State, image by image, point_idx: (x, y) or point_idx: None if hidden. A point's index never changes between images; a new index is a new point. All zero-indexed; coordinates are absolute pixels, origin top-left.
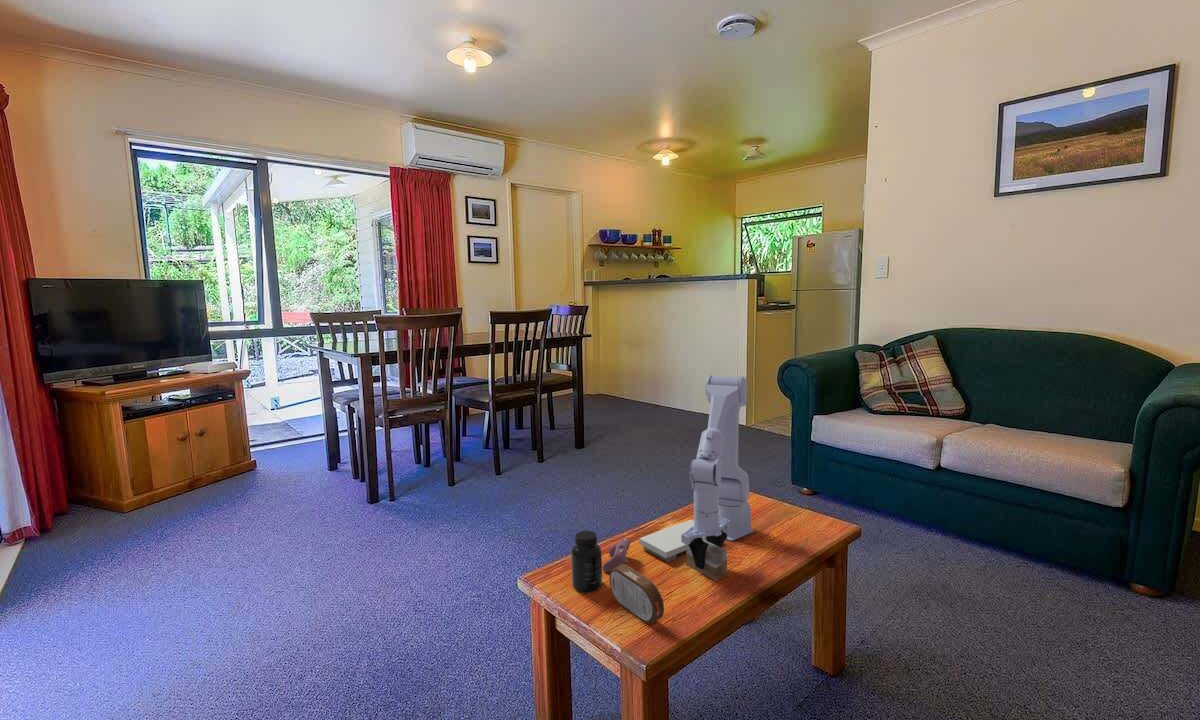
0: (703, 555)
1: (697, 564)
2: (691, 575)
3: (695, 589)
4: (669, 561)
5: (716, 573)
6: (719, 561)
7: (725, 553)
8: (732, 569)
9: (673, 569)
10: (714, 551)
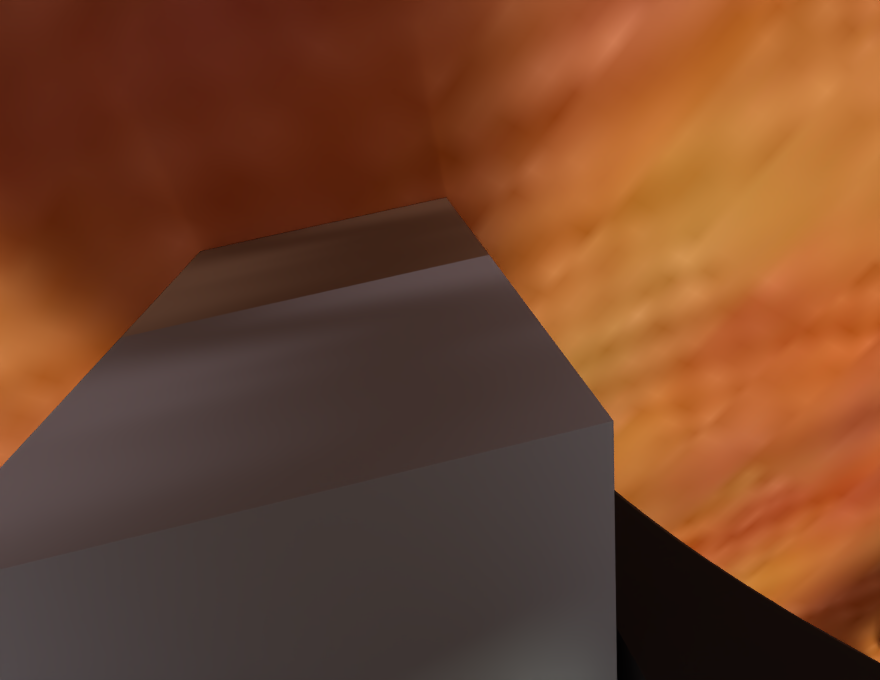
0: (665, 573)
1: None
2: None
3: (801, 134)
4: None
5: (434, 229)
6: (362, 328)
7: (43, 492)
8: (40, 345)
9: None
10: (429, 629)
